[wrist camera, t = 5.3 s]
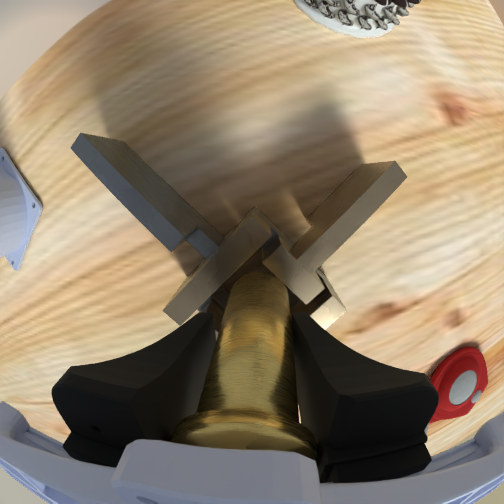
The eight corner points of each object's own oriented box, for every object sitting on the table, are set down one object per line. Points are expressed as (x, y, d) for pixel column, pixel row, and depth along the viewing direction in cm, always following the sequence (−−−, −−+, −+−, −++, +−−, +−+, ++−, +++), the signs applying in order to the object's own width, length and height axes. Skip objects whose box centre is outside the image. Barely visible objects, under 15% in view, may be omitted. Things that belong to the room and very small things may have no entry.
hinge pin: (207, 297, 13) (143, 451, 5) (258, 247, 12) (235, 410, 4) (259, 339, 14) (246, 494, 6) (312, 298, 13) (347, 463, 5)
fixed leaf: (326, 276, 18) (346, 310, 13) (256, 337, 19) (254, 383, 14) (149, 109, 15) (112, 89, 10) (92, 183, 17) (47, 188, 12)
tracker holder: (466, 334, 18) (506, 371, 17) (443, 326, 22) (485, 362, 21) (388, 442, 18) (441, 462, 17) (375, 421, 22) (427, 444, 21)
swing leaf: (256, 339, 19) (254, 383, 14) (186, 278, 18) (162, 310, 13) (396, 208, 16) (436, 219, 12) (330, 131, 15) (355, 115, 11)
